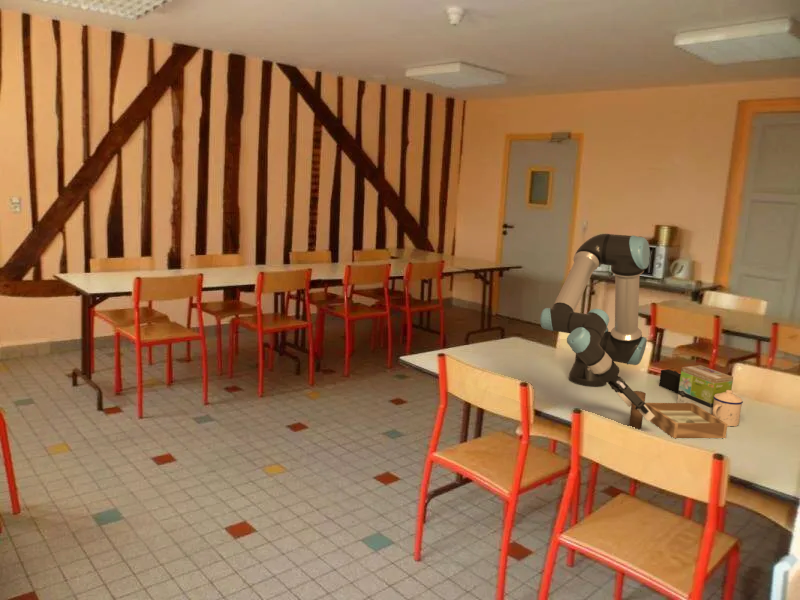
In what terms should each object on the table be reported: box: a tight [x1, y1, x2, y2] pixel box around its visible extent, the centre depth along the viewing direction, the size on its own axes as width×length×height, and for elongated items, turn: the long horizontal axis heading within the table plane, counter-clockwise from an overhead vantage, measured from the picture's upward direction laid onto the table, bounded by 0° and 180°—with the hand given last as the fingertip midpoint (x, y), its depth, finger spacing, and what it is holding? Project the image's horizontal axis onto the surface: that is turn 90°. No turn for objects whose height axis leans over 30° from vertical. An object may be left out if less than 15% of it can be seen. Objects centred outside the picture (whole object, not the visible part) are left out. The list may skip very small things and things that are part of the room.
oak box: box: [645, 402, 728, 439], centre depth 211 cm, size 20×18×5 cm
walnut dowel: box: [628, 390, 647, 430], centre depth 209 cm, size 4×4×12 cm
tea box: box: [676, 364, 734, 415], centre depth 230 cm, size 15×10×15 cm
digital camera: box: [658, 369, 681, 395], centre depth 253 cm, size 10×5×7 cm, turn 20°
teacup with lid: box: [712, 389, 744, 427], centre depth 217 cm, size 12×9×12 cm
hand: (641, 411), depth 209 cm, fingers open, 13 cm apart
